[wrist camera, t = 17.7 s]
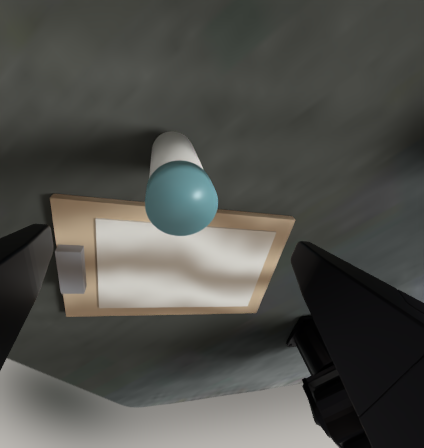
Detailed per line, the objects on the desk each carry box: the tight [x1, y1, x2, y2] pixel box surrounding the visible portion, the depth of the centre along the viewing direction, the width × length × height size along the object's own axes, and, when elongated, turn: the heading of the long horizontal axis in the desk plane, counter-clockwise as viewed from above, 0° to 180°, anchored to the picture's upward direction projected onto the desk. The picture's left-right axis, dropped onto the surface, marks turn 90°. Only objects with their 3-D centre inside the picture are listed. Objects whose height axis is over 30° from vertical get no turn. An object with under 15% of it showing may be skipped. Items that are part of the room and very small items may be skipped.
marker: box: [145, 131, 218, 236], centre depth 16 cm, size 3×3×10 cm
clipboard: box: [50, 194, 295, 317], centre depth 26 cm, size 14×22×2 cm, turn 79°
